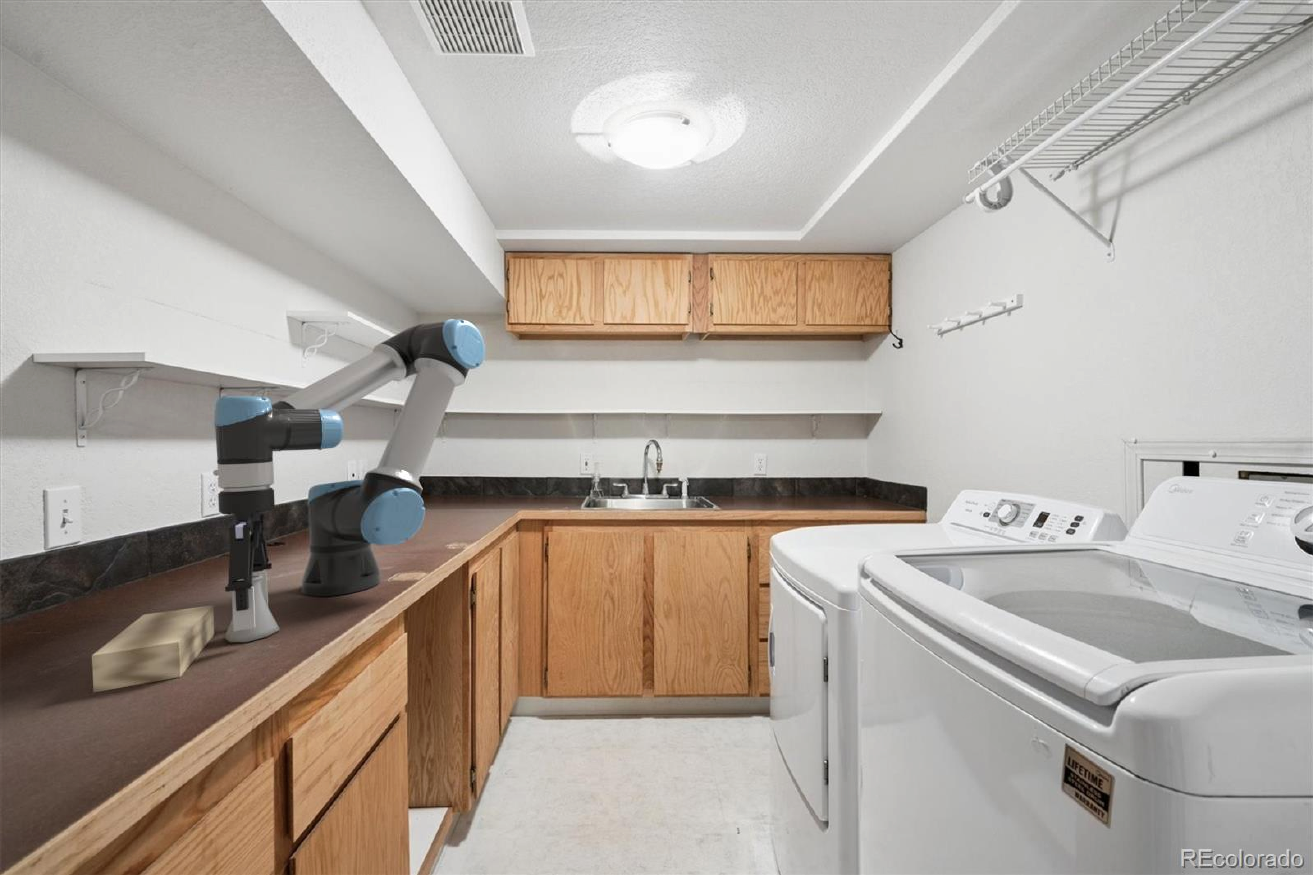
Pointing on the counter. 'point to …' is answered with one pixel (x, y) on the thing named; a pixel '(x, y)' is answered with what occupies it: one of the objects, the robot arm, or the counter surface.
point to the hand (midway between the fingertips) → (252, 617)
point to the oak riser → (153, 648)
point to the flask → (263, 618)
